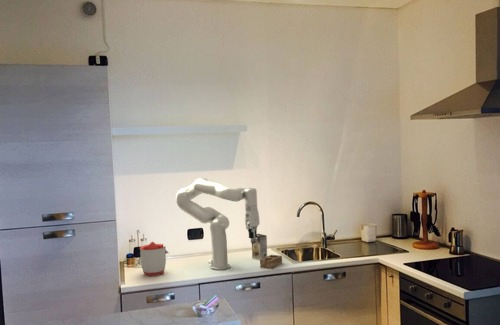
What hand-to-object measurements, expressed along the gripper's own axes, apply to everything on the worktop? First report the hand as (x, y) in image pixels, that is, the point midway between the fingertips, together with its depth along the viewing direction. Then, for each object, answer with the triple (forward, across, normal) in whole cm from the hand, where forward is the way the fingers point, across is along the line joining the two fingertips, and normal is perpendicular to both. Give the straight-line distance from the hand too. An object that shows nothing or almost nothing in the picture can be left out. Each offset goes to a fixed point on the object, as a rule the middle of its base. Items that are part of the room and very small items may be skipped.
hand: (252, 237), depth 291 cm
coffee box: (+19, +22, +9) cm, 30 cm away
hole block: (+19, +9, -7) cm, 22 cm away
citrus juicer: (+19, -35, +50) cm, 64 cm away
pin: (+3, 0, 0) cm, 3 cm away
